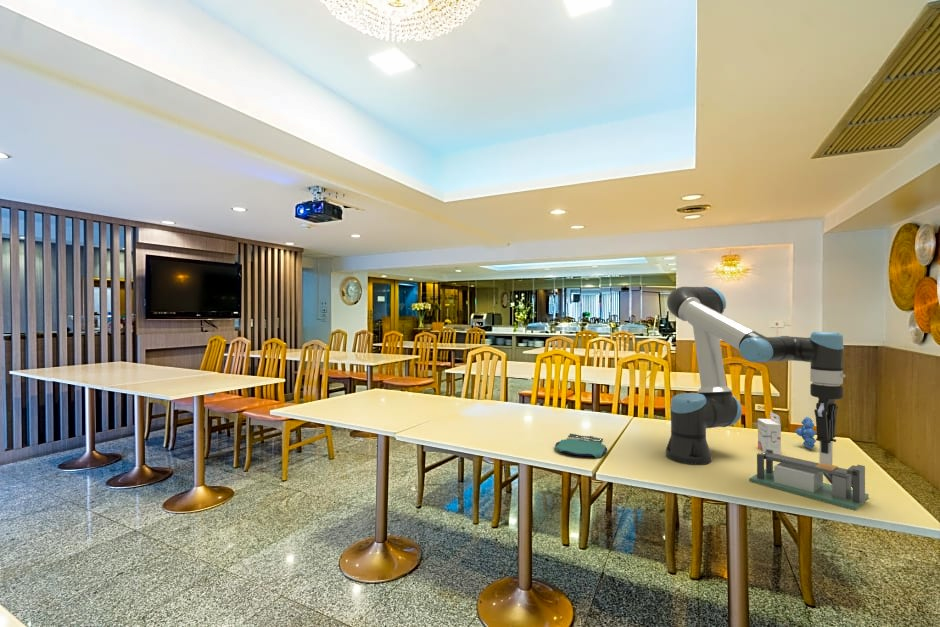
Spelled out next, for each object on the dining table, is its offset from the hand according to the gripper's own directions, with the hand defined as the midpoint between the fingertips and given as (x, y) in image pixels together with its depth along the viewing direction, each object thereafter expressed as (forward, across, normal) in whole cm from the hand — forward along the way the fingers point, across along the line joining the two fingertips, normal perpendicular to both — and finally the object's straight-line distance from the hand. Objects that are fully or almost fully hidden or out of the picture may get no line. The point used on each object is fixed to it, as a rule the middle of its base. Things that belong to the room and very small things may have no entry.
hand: (825, 463), depth 130 cm
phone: (+10, +19, +1) cm, 21 cm away
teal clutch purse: (+10, -20, +73) cm, 77 cm away
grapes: (+10, +50, +19) cm, 54 cm away
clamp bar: (+3, 0, +6) cm, 6 cm away
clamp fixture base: (+9, 0, +5) cm, 10 cm away
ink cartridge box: (+10, +33, +26) cm, 43 cm away
